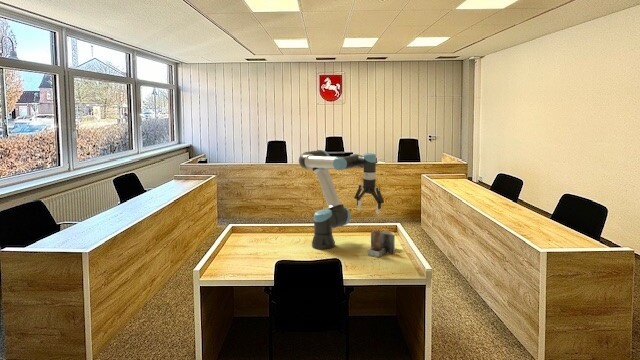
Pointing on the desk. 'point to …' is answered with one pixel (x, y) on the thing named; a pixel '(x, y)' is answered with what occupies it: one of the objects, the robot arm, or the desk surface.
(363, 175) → the robot arm
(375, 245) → the handle
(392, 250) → the bracket
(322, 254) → the desk surface
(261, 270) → the desk surface
